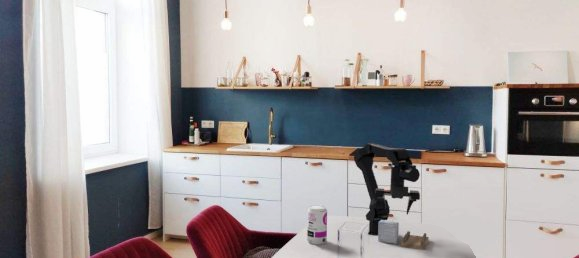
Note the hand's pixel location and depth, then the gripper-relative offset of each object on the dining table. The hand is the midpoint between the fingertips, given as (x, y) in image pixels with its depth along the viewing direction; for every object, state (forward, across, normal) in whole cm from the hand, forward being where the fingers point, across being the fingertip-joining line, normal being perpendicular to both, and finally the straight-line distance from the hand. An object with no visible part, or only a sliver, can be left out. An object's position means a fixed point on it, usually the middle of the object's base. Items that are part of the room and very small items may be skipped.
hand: (396, 213), depth 207 cm
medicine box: (+12, -3, -1) cm, 13 cm away
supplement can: (+13, -33, -9) cm, 36 cm away
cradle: (+12, +8, -1) cm, 15 cm away
